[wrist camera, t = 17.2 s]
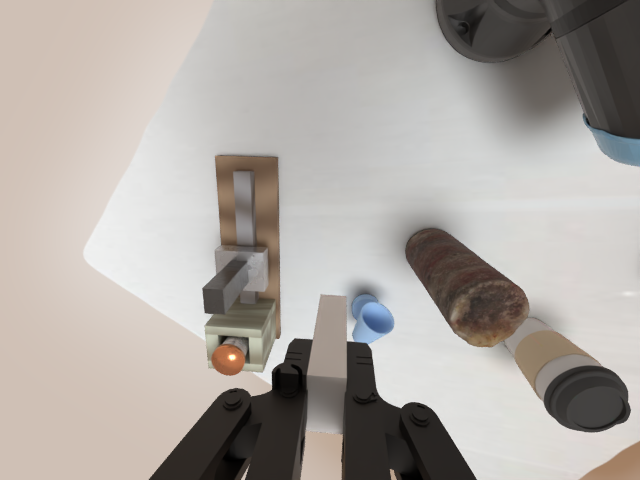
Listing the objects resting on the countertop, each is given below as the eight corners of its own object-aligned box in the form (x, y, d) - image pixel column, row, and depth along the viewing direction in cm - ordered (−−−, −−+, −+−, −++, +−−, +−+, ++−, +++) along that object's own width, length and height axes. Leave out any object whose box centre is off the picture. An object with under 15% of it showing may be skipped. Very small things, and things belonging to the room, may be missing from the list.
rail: (218, 155, 45) (183, 157, 35) (278, 157, 44) (259, 159, 35) (230, 331, 54) (205, 370, 44) (280, 334, 53) (266, 375, 43)
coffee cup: (491, 357, 51) (548, 438, 36) (502, 309, 48) (569, 377, 34) (547, 361, 50) (627, 446, 36) (562, 313, 48) (655, 384, 33)
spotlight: (361, 281, 49) (344, 315, 51) (365, 313, 39) (344, 354, 41) (389, 292, 49) (371, 326, 51) (400, 327, 39) (377, 367, 41)
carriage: (221, 245, 45) (181, 275, 34) (267, 247, 45) (242, 279, 34) (224, 281, 47) (187, 322, 36) (268, 284, 46) (244, 326, 35)
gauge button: (231, 315, 47) (209, 346, 40) (259, 317, 47) (242, 348, 39) (233, 339, 48) (212, 374, 41) (260, 341, 48) (244, 376, 41)
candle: (442, 216, 45) (515, 267, 26) (464, 256, 46) (548, 333, 27) (396, 242, 46) (432, 307, 27) (418, 280, 48) (467, 367, 29)
